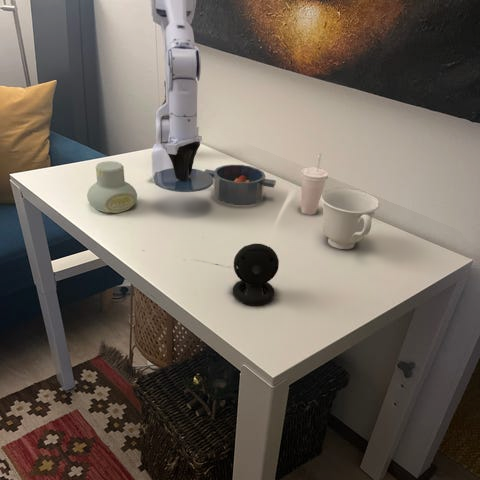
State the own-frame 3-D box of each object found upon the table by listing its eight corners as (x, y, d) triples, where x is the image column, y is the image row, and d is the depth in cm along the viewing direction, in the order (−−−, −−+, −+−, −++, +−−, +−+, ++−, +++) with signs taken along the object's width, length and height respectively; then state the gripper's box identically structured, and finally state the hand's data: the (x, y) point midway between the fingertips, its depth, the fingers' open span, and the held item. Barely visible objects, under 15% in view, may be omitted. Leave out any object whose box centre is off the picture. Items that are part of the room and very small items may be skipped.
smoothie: (323, 217, 118) (333, 159, 109) (296, 216, 118) (304, 156, 109) (320, 206, 123) (329, 149, 115) (294, 204, 123) (302, 147, 114)
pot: (267, 212, 118) (270, 188, 114) (196, 200, 121) (196, 176, 117) (277, 193, 128) (280, 170, 124) (211, 182, 131) (212, 160, 127)
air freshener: (98, 220, 109) (93, 175, 103) (83, 206, 114) (77, 163, 108) (143, 210, 115) (141, 167, 109) (127, 197, 120) (124, 156, 114)
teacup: (332, 266, 99) (342, 220, 94) (305, 232, 111) (311, 189, 105) (386, 261, 103) (398, 216, 97) (354, 228, 114) (363, 186, 108)
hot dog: (240, 202, 121) (241, 187, 118) (227, 200, 121) (228, 184, 119) (249, 190, 127) (250, 175, 125) (236, 188, 128) (237, 173, 125)
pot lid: (202, 198, 106) (202, 179, 104) (143, 188, 108) (142, 169, 106) (220, 177, 117) (221, 159, 114) (166, 168, 119) (166, 150, 116)
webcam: (272, 283, 93) (278, 235, 87) (276, 306, 87) (283, 256, 81) (231, 282, 92) (234, 233, 86) (232, 305, 86) (235, 254, 80)
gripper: (189, 125, 97) (189, 191, 105) (212, 107, 109) (210, 169, 117) (155, 120, 98) (158, 186, 107) (181, 103, 110) (181, 164, 118)
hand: (183, 176), depth 112 cm, fingers closed on pot lid, 2 cm apart
